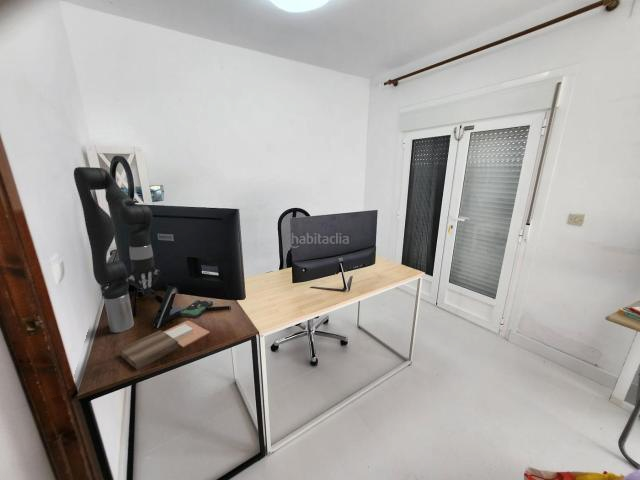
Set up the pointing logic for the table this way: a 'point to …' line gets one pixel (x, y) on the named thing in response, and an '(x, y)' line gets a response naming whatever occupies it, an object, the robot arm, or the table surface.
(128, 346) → the deck
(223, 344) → the table surface
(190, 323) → the mat
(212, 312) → the table surface
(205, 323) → the table surface
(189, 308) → the disk drive
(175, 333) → the tile
